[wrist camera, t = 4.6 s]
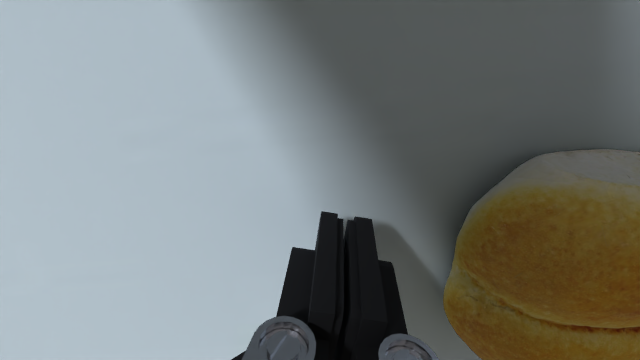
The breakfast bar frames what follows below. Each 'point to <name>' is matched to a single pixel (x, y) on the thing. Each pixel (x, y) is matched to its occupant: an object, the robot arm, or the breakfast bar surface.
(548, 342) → the bread roll
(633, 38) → the breakfast bar surface
